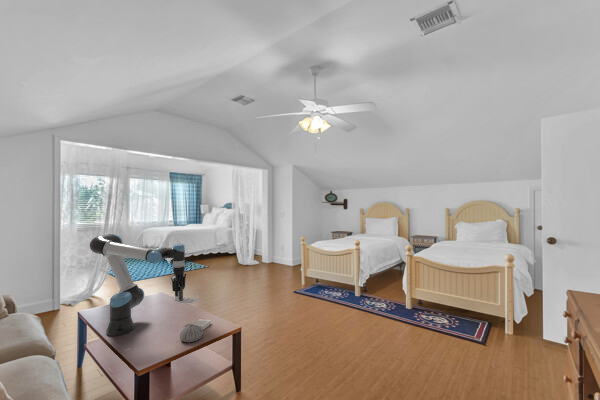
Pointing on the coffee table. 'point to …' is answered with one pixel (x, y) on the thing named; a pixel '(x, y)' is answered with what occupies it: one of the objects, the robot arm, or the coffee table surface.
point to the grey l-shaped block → (185, 300)
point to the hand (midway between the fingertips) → (179, 299)
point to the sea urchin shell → (191, 333)
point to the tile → (202, 323)
